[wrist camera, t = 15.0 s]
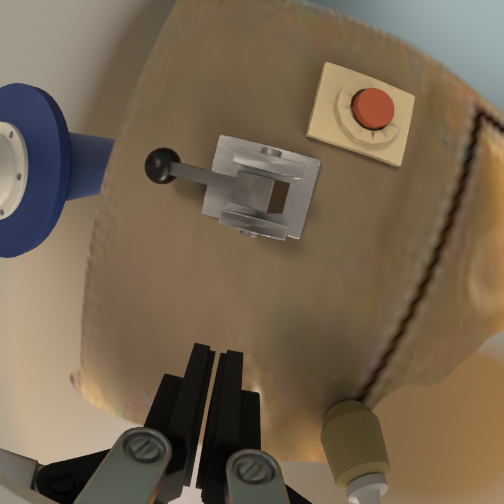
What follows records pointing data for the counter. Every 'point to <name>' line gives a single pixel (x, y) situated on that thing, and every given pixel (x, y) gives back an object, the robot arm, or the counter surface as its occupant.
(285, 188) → the lever
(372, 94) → the button
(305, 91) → the counter surface
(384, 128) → the control block
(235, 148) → the bracket
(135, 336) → the counter surface
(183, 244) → the counter surface
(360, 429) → the squeeze bottle
